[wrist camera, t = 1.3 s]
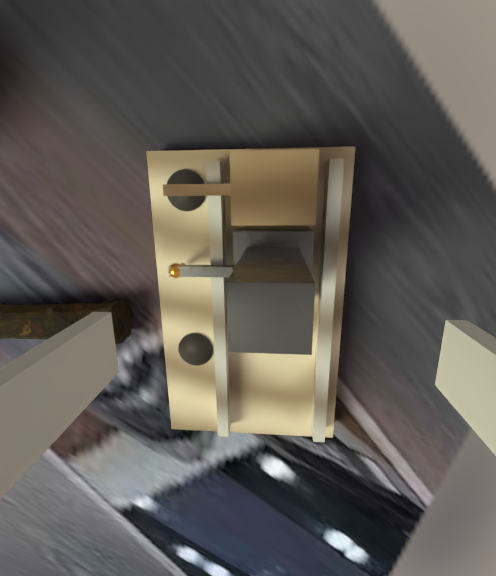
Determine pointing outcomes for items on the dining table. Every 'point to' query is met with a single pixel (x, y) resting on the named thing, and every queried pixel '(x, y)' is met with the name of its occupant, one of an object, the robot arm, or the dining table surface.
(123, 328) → the hand tool
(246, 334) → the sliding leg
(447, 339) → the robot arm
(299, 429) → the plate
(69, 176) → the dining table surface
